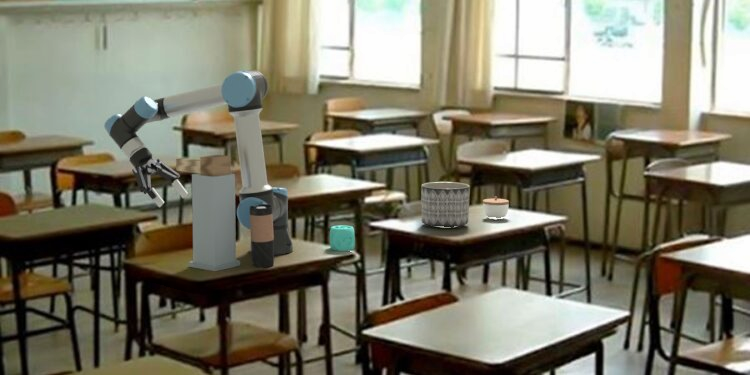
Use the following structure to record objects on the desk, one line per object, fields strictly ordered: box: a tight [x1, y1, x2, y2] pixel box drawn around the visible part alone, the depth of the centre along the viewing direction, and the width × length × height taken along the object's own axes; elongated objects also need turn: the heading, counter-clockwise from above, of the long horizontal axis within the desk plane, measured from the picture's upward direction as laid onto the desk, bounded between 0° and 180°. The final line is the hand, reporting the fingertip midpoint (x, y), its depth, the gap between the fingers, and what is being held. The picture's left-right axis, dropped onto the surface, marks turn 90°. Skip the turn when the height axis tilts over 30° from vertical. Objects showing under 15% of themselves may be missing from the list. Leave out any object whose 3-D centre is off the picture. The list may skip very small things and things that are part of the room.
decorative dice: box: [329, 224, 356, 252], centre depth 442 cm, size 8×8×8 cm
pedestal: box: [188, 173, 241, 272], centre depth 409 cm, size 12×12×31 cm
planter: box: [420, 181, 471, 227], centre depth 488 cm, size 19×19×16 cm
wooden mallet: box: [175, 154, 232, 177], centre depth 410 cm, size 20×8×6 cm, turn 53°
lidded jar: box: [482, 195, 510, 218], centre depth 506 cm, size 11×11×9 cm
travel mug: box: [249, 204, 275, 268], centre depth 412 cm, size 8×8×20 cm
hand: (173, 200), depth 426 cm, fingers open, 13 cm apart
